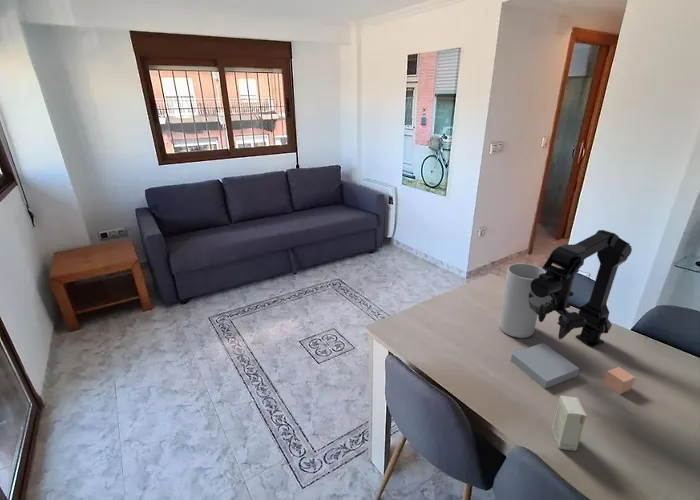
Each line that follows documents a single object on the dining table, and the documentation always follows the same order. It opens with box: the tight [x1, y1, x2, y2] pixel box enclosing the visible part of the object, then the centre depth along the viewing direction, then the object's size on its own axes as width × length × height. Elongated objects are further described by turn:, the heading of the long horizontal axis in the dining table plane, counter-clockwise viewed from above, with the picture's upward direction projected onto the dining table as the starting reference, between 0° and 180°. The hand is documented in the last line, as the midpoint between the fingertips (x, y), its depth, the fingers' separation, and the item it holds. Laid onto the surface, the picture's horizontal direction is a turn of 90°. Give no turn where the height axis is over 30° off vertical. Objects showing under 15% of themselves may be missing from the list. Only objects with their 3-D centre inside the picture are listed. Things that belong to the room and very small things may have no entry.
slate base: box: [510, 342, 580, 389], centre depth 120 cm, size 14×14×3 cm
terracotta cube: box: [603, 366, 636, 395], centre depth 112 cm, size 5×5×5 cm
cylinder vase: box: [498, 262, 547, 339], centre depth 136 cm, size 12×12×25 cm
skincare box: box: [551, 394, 587, 451], centre depth 94 cm, size 6×4×12 cm
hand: (550, 329), depth 117 cm, fingers open, 9 cm apart
